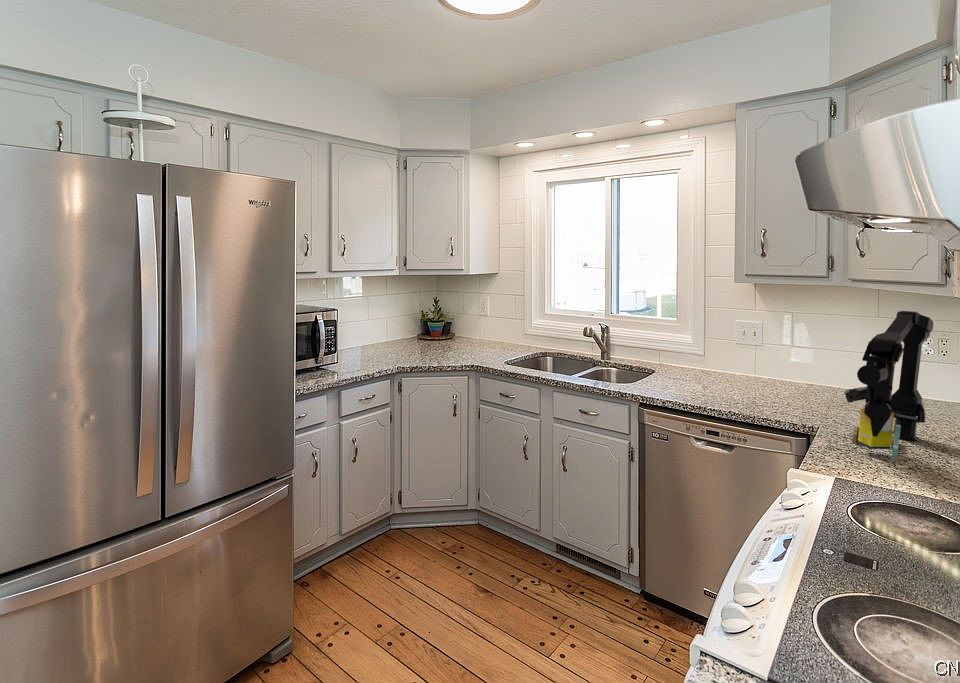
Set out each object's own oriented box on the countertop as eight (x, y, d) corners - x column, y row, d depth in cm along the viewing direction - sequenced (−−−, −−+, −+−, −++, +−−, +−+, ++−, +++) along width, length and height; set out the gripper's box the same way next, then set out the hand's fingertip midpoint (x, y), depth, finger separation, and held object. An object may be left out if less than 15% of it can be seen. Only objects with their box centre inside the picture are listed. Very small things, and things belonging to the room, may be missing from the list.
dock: (853, 435, 186) (854, 426, 185) (894, 442, 179) (895, 433, 179) (851, 443, 178) (852, 433, 177) (894, 450, 172) (896, 440, 171)
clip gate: (891, 459, 162) (894, 432, 161) (892, 450, 170) (896, 424, 169) (896, 460, 161) (900, 432, 160) (897, 451, 169) (901, 425, 168)
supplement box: (876, 443, 171) (880, 407, 170) (890, 449, 165) (895, 413, 164) (856, 443, 171) (860, 407, 169) (870, 449, 165) (874, 413, 163)
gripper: (849, 372, 177) (844, 420, 180) (846, 382, 162) (840, 435, 165) (893, 377, 171) (887, 427, 173) (894, 388, 156) (887, 442, 158)
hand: (874, 432), depth 167 cm, fingers closed on supplement box, 8 cm apart
